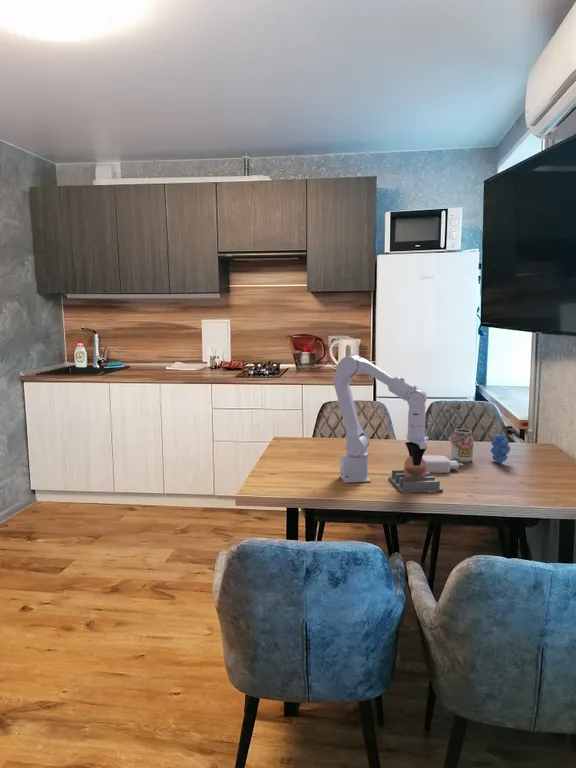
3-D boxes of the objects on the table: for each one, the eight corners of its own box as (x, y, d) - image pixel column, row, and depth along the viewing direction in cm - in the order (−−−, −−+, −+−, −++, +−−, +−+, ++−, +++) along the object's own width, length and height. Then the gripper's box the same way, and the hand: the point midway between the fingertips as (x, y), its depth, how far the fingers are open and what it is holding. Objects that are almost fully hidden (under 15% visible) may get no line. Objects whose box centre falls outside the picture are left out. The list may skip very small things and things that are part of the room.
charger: (465, 474, 201) (423, 473, 202) (459, 466, 210) (419, 466, 211) (465, 461, 200) (424, 461, 201) (459, 454, 209) (419, 454, 210)
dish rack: (401, 493, 180) (402, 483, 180) (388, 479, 195) (388, 469, 194) (442, 491, 182) (443, 481, 181) (426, 477, 196) (427, 468, 196)
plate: (405, 476, 186) (406, 456, 185) (403, 475, 188) (404, 455, 187) (425, 476, 187) (426, 456, 186) (423, 474, 189) (424, 454, 188)
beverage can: (452, 463, 213) (453, 433, 212) (445, 457, 222) (446, 428, 220) (475, 463, 214) (477, 433, 212) (468, 457, 222) (469, 428, 220)
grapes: (517, 467, 208) (519, 436, 206) (500, 468, 207) (502, 437, 206) (502, 459, 219) (504, 429, 218) (486, 459, 219) (487, 430, 217)
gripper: (436, 429, 178) (434, 470, 180) (420, 420, 193) (419, 457, 195) (415, 430, 178) (413, 470, 180) (401, 420, 192) (400, 458, 194)
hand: (415, 464), depth 187 cm, fingers closed on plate, 2 cm apart
